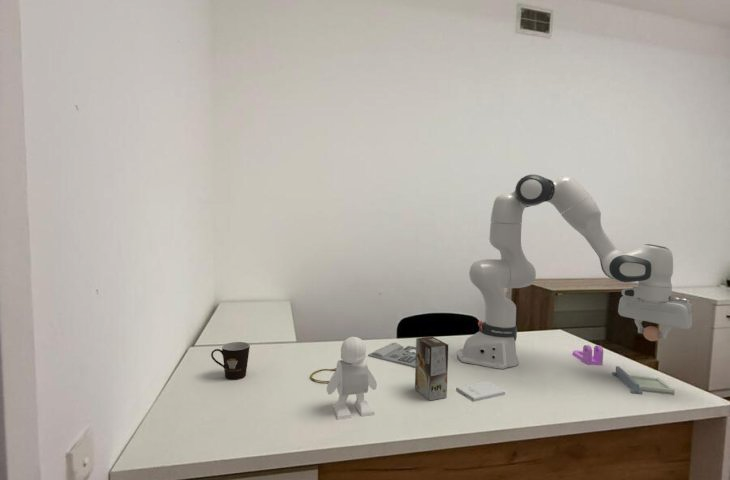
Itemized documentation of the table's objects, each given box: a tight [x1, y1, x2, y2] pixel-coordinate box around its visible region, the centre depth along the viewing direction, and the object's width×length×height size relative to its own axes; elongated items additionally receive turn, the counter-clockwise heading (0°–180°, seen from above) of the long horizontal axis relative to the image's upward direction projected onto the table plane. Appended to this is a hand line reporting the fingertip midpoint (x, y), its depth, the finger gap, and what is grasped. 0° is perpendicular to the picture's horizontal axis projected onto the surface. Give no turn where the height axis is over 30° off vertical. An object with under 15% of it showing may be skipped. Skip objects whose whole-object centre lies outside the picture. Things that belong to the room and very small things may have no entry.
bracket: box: [572, 344, 604, 366], centre depth 152 cm, size 13×6×7 cm, turn 179°
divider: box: [611, 365, 643, 395], centre depth 128 cm, size 3×16×3 cm, turn 166°
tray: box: [628, 374, 675, 395], centre depth 127 cm, size 10×10×1 cm
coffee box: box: [414, 336, 449, 401], centre depth 116 cm, size 9×6×16 cm
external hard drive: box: [455, 380, 506, 402], centre depth 118 cm, size 2×8×12 cm
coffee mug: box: [210, 341, 251, 381], centre depth 125 cm, size 12×9×10 cm
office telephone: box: [367, 342, 416, 369], centre depth 150 cm, size 23×3×20 cm
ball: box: [642, 325, 661, 342], centre depth 126 cm, size 5×5×5 cm
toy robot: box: [326, 336, 377, 420], centre depth 105 cm, size 14×9×20 cm, turn 107°
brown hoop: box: [309, 367, 337, 384], centre depth 128 cm, size 12×16×2 cm
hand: (651, 335), depth 126 cm, fingers closed on ball, 5 cm apart
